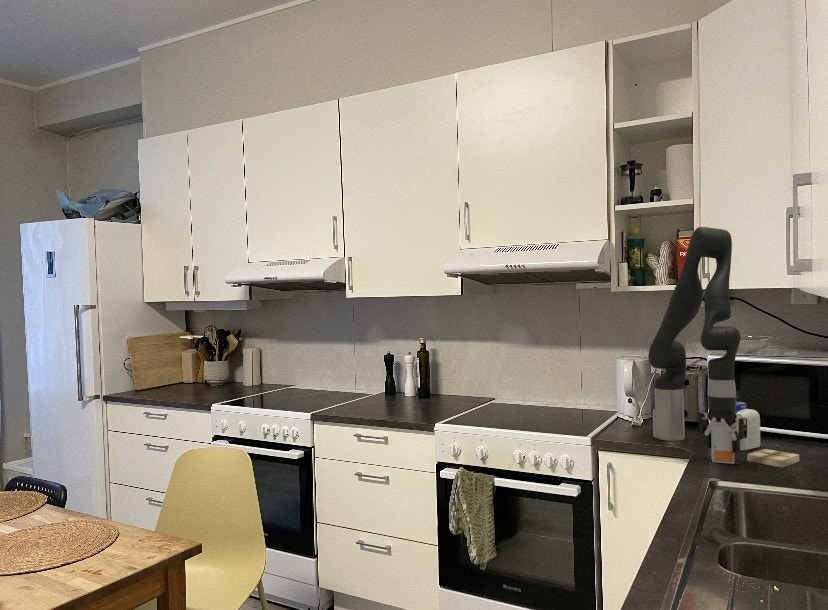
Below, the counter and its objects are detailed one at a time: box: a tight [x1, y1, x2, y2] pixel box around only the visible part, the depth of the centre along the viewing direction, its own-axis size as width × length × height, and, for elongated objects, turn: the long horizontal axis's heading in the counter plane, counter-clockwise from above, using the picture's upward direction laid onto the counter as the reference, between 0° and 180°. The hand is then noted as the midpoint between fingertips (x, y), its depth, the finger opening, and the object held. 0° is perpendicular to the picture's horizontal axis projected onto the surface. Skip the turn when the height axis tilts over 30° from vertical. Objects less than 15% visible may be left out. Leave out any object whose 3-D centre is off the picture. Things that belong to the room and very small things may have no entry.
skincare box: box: [710, 421, 735, 465], centre depth 193 cm, size 6×4×12 cm
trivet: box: [746, 448, 800, 468], centre depth 192 cm, size 10×10×2 cm
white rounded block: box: [735, 408, 761, 452], centre depth 208 cm, size 10×4×12 cm, turn 123°
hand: (722, 450), depth 193 cm, fingers closed on skincare box, 7 cm apart
